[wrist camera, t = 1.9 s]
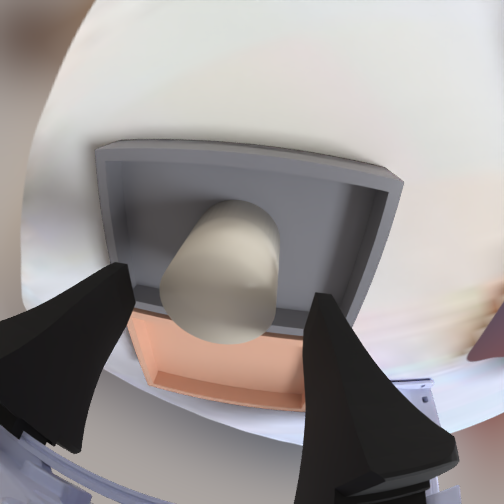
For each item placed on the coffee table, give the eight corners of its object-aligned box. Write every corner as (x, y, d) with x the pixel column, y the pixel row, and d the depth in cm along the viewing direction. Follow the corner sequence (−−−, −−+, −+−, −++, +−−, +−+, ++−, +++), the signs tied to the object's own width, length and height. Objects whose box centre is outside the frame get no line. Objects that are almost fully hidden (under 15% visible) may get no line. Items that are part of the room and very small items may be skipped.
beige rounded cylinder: (286, 206, 13) (285, 264, 9) (274, 280, 15) (267, 351, 11) (195, 195, 13) (153, 245, 9) (196, 269, 15) (166, 333, 11)
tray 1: (385, 167, 12) (404, 181, 10) (341, 311, 17) (346, 339, 15) (121, 139, 13) (95, 149, 11) (136, 281, 18) (120, 304, 16)
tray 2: (339, 316, 17) (344, 344, 15) (306, 388, 22) (306, 412, 20) (137, 285, 18) (121, 308, 16) (156, 364, 23) (148, 385, 21)
